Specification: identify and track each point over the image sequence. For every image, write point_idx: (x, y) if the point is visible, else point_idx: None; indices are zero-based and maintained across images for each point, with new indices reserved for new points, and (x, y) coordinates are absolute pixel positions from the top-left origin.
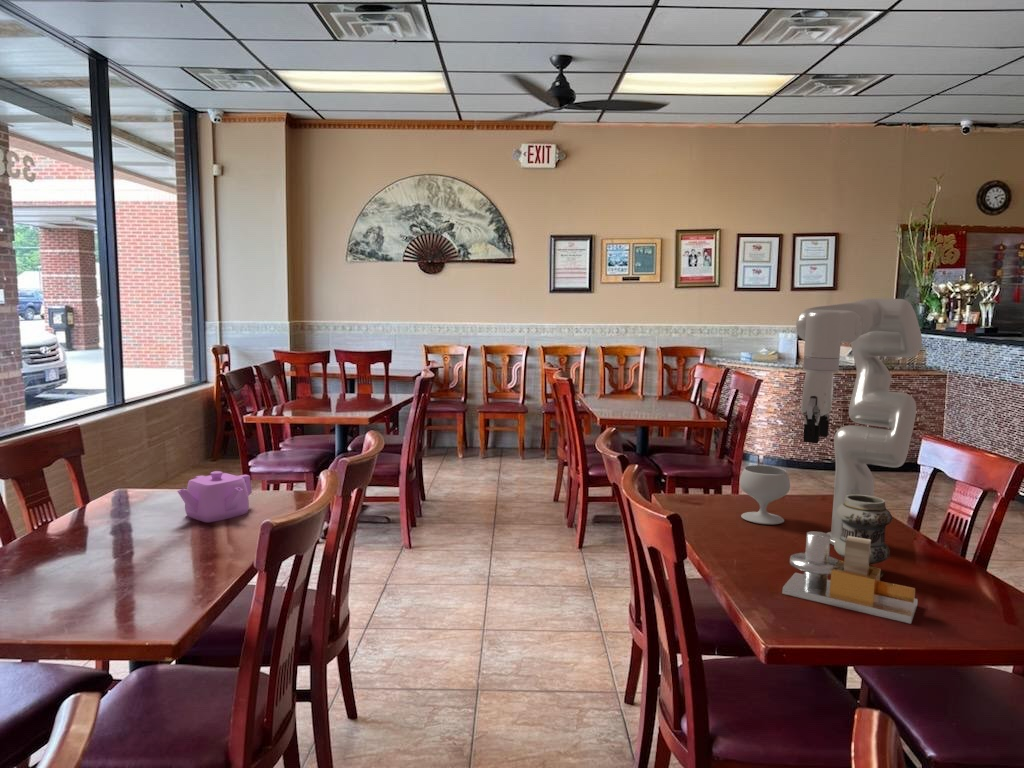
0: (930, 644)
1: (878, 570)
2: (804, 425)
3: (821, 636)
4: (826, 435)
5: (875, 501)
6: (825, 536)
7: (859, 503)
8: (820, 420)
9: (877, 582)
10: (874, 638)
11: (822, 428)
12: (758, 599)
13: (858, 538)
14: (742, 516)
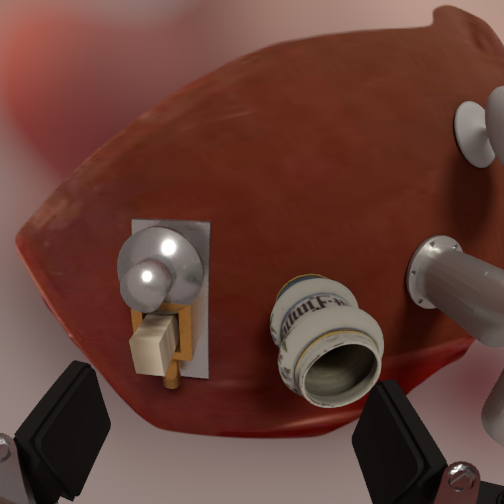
0: (110, 375)
1: (179, 358)
2: (19, 429)
3: (53, 283)
4: (353, 444)
5: (366, 382)
6: (139, 304)
7: (301, 372)
8: (398, 493)
9: None
10: (84, 331)
11: (374, 459)
12: (98, 194)
13: (155, 359)
14: (466, 103)
